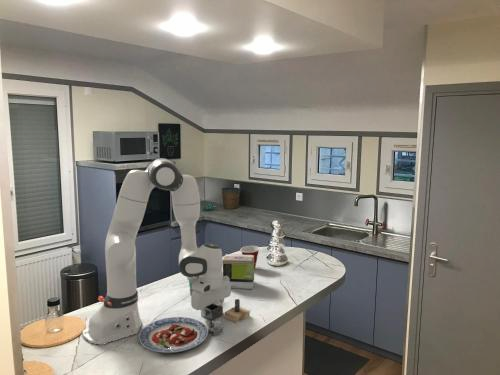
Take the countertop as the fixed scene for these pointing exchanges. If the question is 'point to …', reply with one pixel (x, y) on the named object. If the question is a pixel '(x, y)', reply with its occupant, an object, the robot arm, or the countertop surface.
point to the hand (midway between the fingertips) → (212, 312)
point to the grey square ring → (213, 311)
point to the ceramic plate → (173, 334)
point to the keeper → (237, 312)
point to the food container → (191, 281)
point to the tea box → (239, 270)
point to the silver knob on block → (215, 329)
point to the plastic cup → (251, 252)
